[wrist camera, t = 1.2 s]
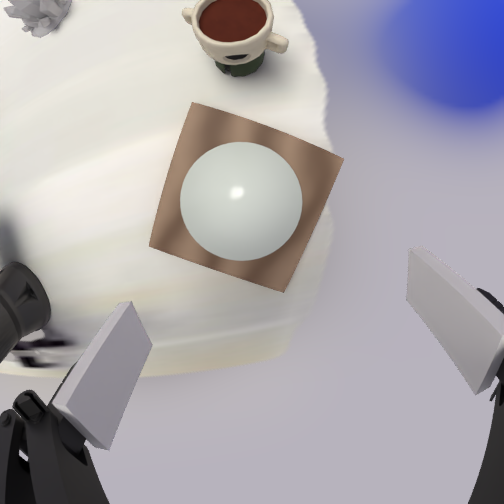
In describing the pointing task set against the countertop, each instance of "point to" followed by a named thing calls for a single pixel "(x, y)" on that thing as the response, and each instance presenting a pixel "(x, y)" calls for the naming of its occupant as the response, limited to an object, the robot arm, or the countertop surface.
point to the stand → (244, 130)
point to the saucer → (241, 201)
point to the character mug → (235, 32)
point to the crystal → (39, 14)
